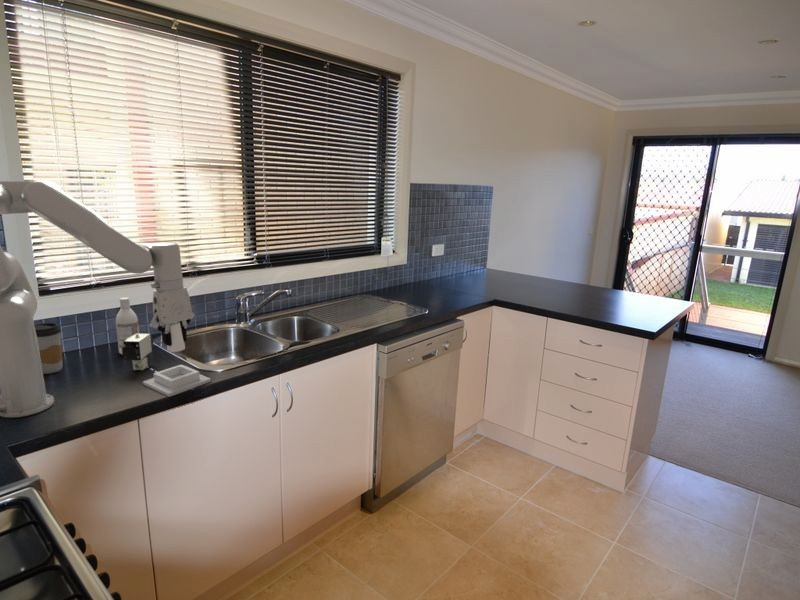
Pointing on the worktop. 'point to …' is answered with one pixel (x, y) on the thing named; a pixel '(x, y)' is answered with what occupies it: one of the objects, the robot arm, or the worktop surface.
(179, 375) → the flange
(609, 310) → the worktop surface
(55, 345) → the coffee cup
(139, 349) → the pneumatic valve
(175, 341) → the salt shaker
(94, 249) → the robot arm
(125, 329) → the bath foam
